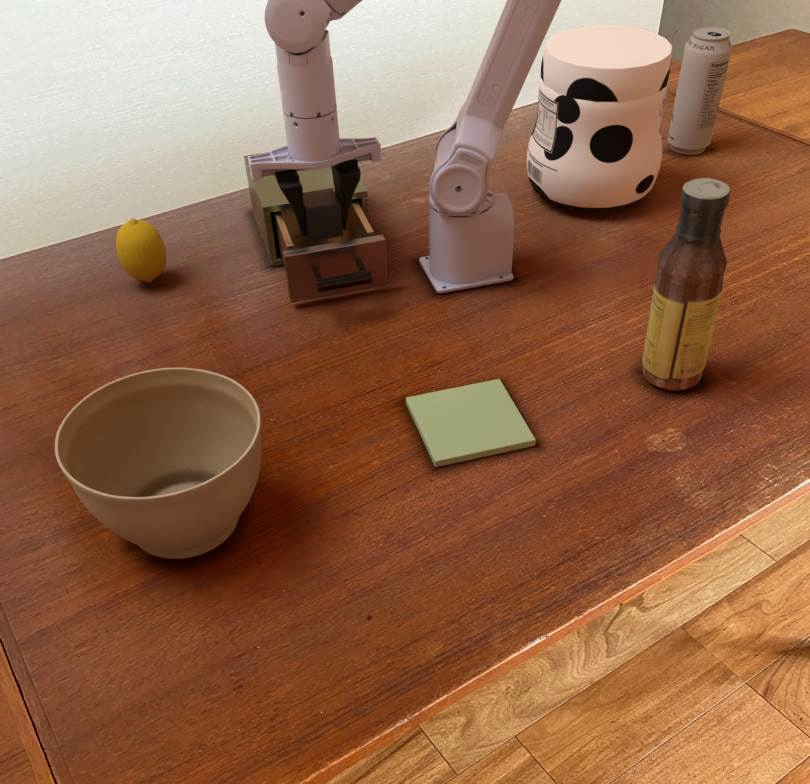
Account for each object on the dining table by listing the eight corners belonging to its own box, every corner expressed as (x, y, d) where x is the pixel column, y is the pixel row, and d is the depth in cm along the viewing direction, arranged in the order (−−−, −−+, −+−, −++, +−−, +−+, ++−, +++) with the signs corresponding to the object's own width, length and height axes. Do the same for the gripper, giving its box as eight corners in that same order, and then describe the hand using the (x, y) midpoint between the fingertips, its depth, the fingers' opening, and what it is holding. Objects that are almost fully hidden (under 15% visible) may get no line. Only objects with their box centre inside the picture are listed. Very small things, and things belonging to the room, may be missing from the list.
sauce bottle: (704, 363, 90) (755, 175, 76) (697, 399, 86) (749, 208, 72) (640, 353, 92) (678, 167, 77) (631, 387, 88) (669, 198, 73)
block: (335, 220, 103) (332, 187, 100) (343, 236, 101) (340, 203, 98) (302, 225, 103) (298, 193, 100) (309, 241, 100) (305, 208, 97)
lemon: (162, 296, 102) (145, 232, 96) (119, 292, 103) (99, 229, 97) (179, 271, 106) (164, 209, 100) (137, 268, 107) (120, 206, 101)
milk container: (673, 180, 118) (703, 35, 105) (623, 235, 109) (649, 83, 95) (558, 154, 125) (572, 14, 112) (501, 203, 115) (509, 56, 102)
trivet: (499, 384, 89) (499, 378, 88) (535, 446, 82) (536, 439, 82) (405, 403, 87) (405, 397, 87) (435, 467, 81) (435, 461, 80)
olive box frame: (371, 249, 108) (367, 190, 102) (271, 266, 106) (262, 207, 100) (344, 198, 118) (339, 141, 112) (253, 212, 116) (243, 155, 110)
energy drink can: (682, 135, 128) (705, 21, 117) (717, 147, 125) (744, 32, 114) (657, 147, 125) (678, 33, 114) (692, 160, 122) (717, 43, 111)
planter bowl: (196, 620, 69) (164, 527, 61) (56, 544, 75) (10, 451, 67) (314, 498, 78) (300, 403, 70) (180, 439, 84) (153, 345, 76)
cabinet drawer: (397, 304, 98) (395, 257, 94) (298, 322, 96) (291, 275, 92) (359, 231, 109) (356, 186, 105) (271, 246, 108) (264, 201, 103)
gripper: (366, 85, 95) (374, 203, 105) (236, 103, 93) (256, 223, 103) (383, 109, 91) (389, 230, 101) (246, 129, 88) (266, 252, 98)
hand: (323, 229), depth 101 cm, fingers closed on block, 4 cm apart
